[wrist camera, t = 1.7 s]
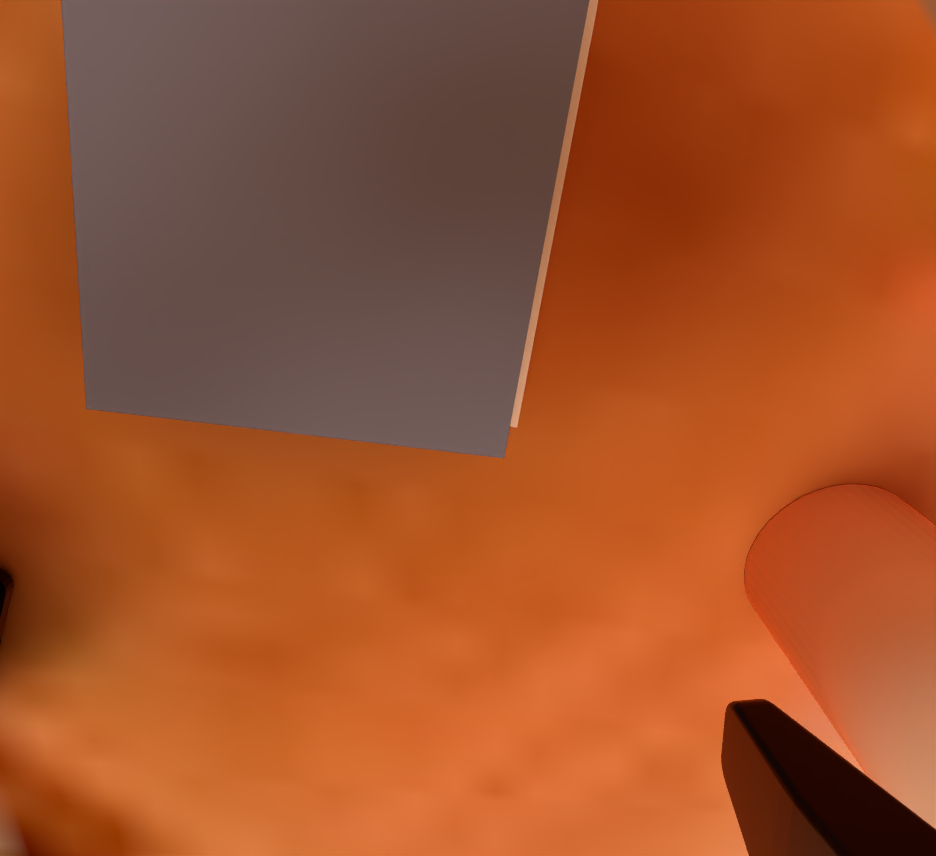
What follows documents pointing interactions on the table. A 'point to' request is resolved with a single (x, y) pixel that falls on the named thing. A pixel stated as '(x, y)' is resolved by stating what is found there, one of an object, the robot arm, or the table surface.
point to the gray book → (319, 208)
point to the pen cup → (859, 625)
